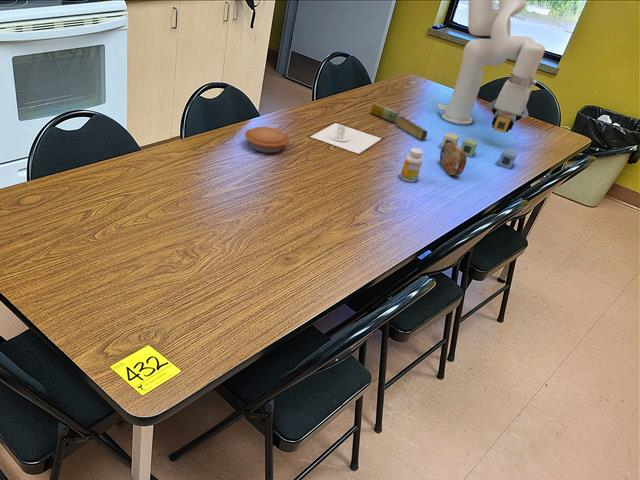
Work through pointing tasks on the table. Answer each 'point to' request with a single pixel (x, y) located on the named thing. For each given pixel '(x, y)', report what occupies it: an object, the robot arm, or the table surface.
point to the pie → (266, 139)
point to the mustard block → (502, 123)
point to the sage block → (469, 146)
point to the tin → (453, 158)
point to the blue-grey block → (507, 158)
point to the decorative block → (411, 128)
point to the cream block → (450, 139)
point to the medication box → (385, 112)
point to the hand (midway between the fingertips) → (500, 128)
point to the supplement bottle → (412, 165)
